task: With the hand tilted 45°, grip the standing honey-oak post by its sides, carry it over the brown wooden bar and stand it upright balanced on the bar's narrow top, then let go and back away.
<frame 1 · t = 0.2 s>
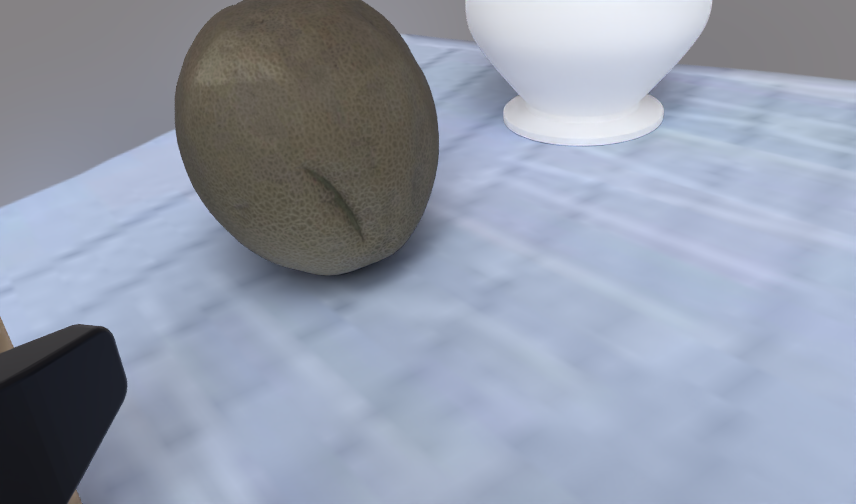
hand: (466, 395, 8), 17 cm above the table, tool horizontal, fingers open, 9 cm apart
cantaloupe: (329, 258, 45), on the table
decorative vase: (581, 118, 61), on the table
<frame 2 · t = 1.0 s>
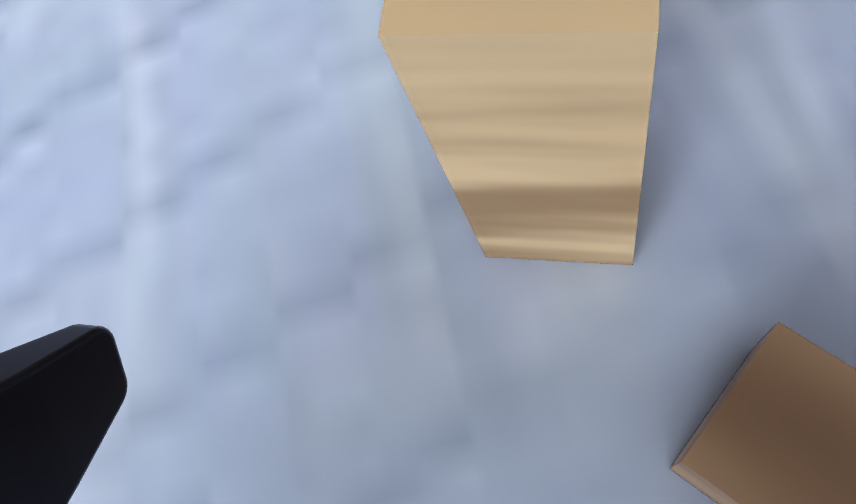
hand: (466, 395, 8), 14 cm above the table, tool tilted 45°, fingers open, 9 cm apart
oak post: (563, 193, 24), on the table
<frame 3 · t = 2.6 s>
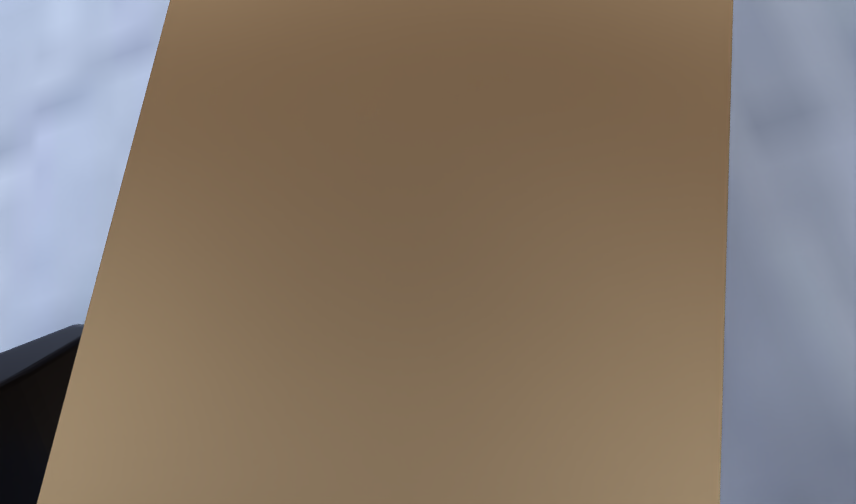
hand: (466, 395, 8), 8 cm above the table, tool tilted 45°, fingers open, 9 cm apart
oak post: (536, 415, 16), on the table
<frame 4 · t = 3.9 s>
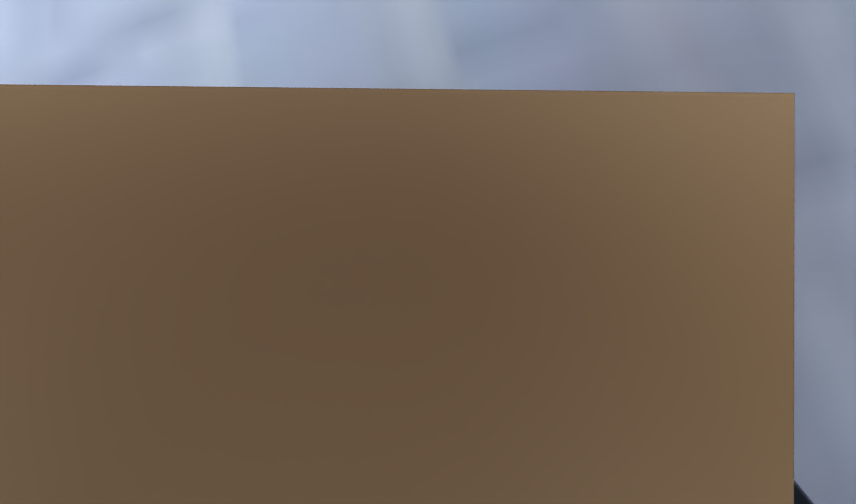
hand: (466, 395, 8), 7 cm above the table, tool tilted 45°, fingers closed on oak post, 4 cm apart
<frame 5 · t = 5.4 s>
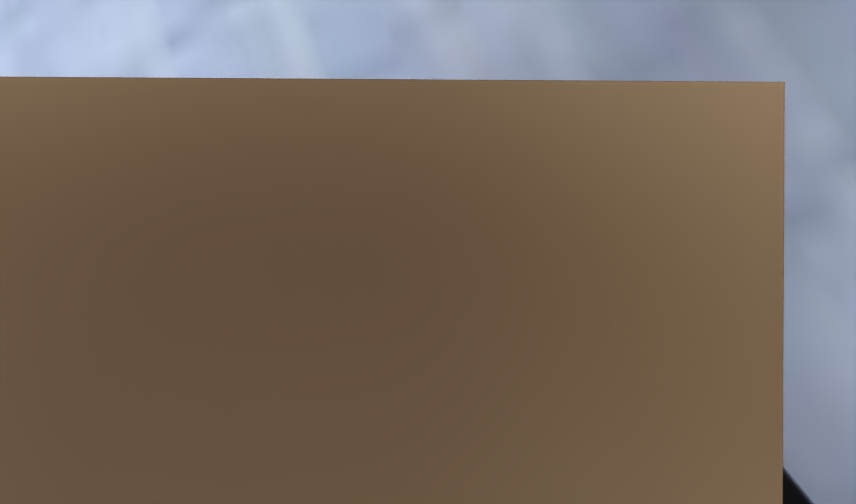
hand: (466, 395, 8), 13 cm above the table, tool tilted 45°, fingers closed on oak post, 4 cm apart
when the fingers open (11 cm above the table, at t = 6.8 s): oak post stays where it is, resting on brown wooden bar.
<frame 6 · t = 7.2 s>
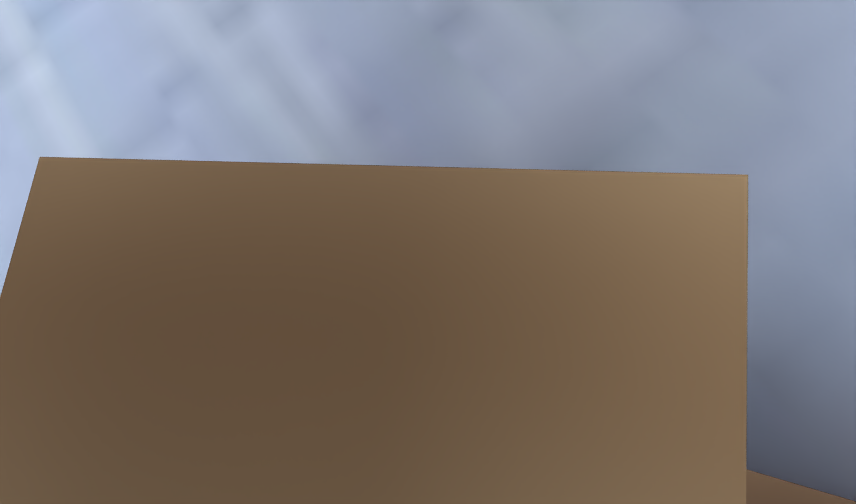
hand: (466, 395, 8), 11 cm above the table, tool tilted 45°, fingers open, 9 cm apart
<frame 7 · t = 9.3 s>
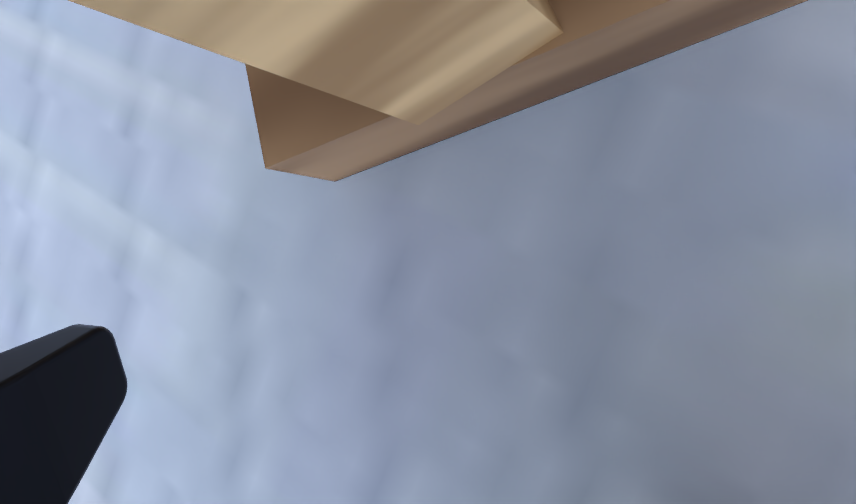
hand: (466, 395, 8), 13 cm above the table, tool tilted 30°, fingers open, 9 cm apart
oak post: (454, 8, 20), point 3 cm above the table, touching brown wooden bar
brown wooden bar: (570, 19, 22), on the table
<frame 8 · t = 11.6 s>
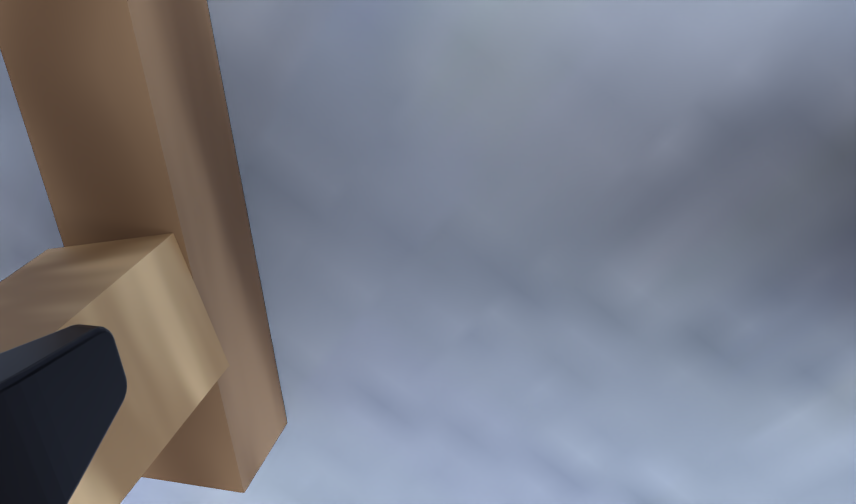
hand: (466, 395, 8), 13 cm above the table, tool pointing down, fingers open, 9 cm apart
oak post: (139, 307, 22), point 3 cm above the table, touching brown wooden bar
brown wooden bar: (187, 197, 24), on the table
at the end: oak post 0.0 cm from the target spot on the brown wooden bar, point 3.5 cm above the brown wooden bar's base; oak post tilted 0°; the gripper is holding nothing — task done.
